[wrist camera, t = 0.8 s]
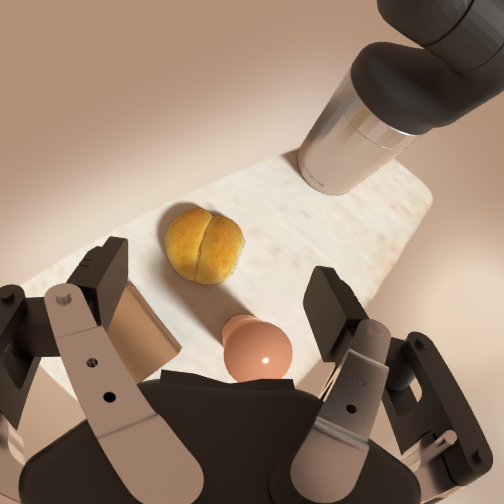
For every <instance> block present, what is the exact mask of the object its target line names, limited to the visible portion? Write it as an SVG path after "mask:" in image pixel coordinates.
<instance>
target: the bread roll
mask: <svg viewBox="0 0 504 504" xmlns="http://www.w3.org/2000/svg"><path fill="white" fill-rule="evenodd" d="M244 243H245V239H244V237H243V234H242V231H241V229H240V227H239V226H238V225H237V224H236V223H235V222H234V221H233V220H231V219H229V218H227V217H223V216H218V217H214V216H212V215H211V214H210V213H209V212H208V211H207V210H205V209H201V208H194V209H190V210H188V211H185V212H183V213H182V214H180V215H179V216H178V217H177V218H176V219H175V220H174V221H173V222H172V223H171V225H170V226H169V228H168V230H167V233H166V236H165V249H166V254H167V257H168V259H169V261H170V263H171V265H172V266H173V268H174V269H175V270H176V271H177V272H178V273H179V274H180V275H181V276H182V277H184V278H186V279H187V280H190V281H194V282H198V283H202V284H218V283H222V282H224V281H225V280H227V279H228V278H229V277H230V276H231V275H232V274H233V273H234V271H235V269H236V266H237V264H238V261H239V258H240V256H241V253H242V249H243V247H244Z"/></svg>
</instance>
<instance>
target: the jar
mask: <svg viewBox="0 0 504 504" xmlns="http://www.w3.org/2000/svg"><path fill="white" fill-rule="evenodd" d="M222 342H223V347H224V362H225V366H226V368H227V370H228V372H229V374H230V375H231V376H232V377H233V378H234V379H235V380H236V381H237V382H245V381H251V380H257V379H281V378H282V377H283V376H284V375H285V374H286V372H287V371H288V369H289V367H290V364H291V361H292V346H291V343H290V340H289V338H288V337H287V335H286V334H285V333H284V332H283V331H282V330H281V329H280V328H279V327H277V326H275V325H273V324H271V323H268V322H263V321H261V320H259V319H257V318H255V317H253V316H251V315H246V314H242V315H237V316H234V317H232V318H231V319H230V320H228V321H227V323H226V324H225V326H224V328H223V330H222Z"/></svg>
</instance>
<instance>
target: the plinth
mask: <svg viewBox="0 0 504 504" xmlns="http://www.w3.org/2000/svg"><path fill="white" fill-rule="evenodd" d="M107 335H108V337H109V339H110V341H111V343H112V345H113V347H114V348H115V350H116V352H117V354H118V355H119V357H120V359H121V361H122V362H123V364H124V366H125V367H126V369H127V371H128V372H129V374H130V376H131V377H132V379H133V380H134V382H135V384H138V383H140V382H142V381H143V380H145V379H146V378H147V377H149V376H150V375H151V374H153V373H154V372H155V371H157V370H158V369H159V368H161V367H162V366H163V365H165V364H166V363H167V362H169V361H170V360H171V359H172V358H174V357H175V356H176V355H178V354H179V352H180V350H181V348H182V346H181V345H180V344H179V343H178V342H177V340H176V339H175V338H174V337H173V335H172V334H171V333H170V332H169V330H168V329H167V328H166V327H165V325H164V324H163V323H162V322H161V320H160V319H159V318H158V316H157V315H156V314H155V313H154V311H153V310H152V309H151V307H150V306H149V305H148V303H147V302H146V301H145V299H144V298H143V296H142V295H141V294H140V292H139V291H138V290H137V288H136V287H135V286H128V285H126V287H125V289H124V291H123V294H122V296H121V298H120V301H119V303H118V306H117V308H116V311H115V313H114V316H113V318H112V321H111V323H110V326H109V328H108V331H107Z"/></svg>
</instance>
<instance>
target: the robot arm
mask: <svg viewBox="0 0 504 504" xmlns="http://www.w3.org/2000/svg"><path fill="white" fill-rule="evenodd" d="M377 5H378V10H379V12H380V14H381V16H382V17H383V19H384V20H385V21H386V22H387V23H388V24H389V25H391V26H392V27H393V28H395V29H396V30H397V31H399V32H400V33H401V34H403V35H404V36H406V37H407V38H409V39H410V40H412V41H414V42H415V43H417V44H419V45H420V46H421V47H423V48H424V49H420V48H412V47H408V46H403V45H399V44H394V43H389V42H376V43H372V44H369V45H367V46H366V47H365V48H363V49H362V51H361V52H360V53H359V55H358V56H357V58H356V59H355V61H354V62H353V64H352V66H351V67H350V69H349V70H348V72H347V73H346V75H345V76H344V78H343V80H342V81H341V83H340V85H339V86H338V88H337V89H336V91H335V92H334V94H333V96H332V97H331V99H330V100H329V102H328V103H327V105H326V107H325V108H324V110H323V111H322V113H321V115H320V116H319V118H318V119H317V121H316V123H315V124H314V126H313V127H312V129H311V130H310V132H309V134H308V135H307V137H306V138H305V140H304V142H303V143H302V145H301V147H300V149H299V151H298V155H297V162H298V167H299V170H300V172H301V174H302V176H303V177H304V179H305V180H306V182H307V183H308V184H309V185H310V186H312V187H313V188H314V189H316V190H317V191H319V192H322V193H324V194H328V195H342V194H345V193H347V192H349V191H350V190H351V189H353V188H354V187H355V186H357V185H358V184H359V183H361V182H362V181H364V180H365V179H366V178H368V177H369V176H370V175H372V174H373V173H374V172H376V171H377V170H378V169H380V168H381V167H382V166H384V165H385V164H386V163H388V162H389V161H390V160H391V159H393V158H394V157H395V156H397V155H398V154H399V153H401V152H402V151H403V150H405V149H406V148H407V147H408V146H410V145H411V144H412V143H413V142H415V141H416V140H418V139H419V138H420V137H421V136H423V135H424V134H425V133H427V132H428V131H429V130H431V129H432V128H436V127H443V126H446V125H449V124H451V123H453V122H455V121H456V120H457V119H459V118H461V117H462V116H464V115H465V114H467V113H469V112H470V111H472V110H474V109H475V108H477V107H478V106H480V105H482V104H483V103H485V102H487V101H488V100H490V99H491V98H493V97H495V96H496V95H498V94H500V93H501V92H503V91H504V0H377ZM127 279H128V240H127V239H126V238H119V237H112V236H110V237H109V238H108V240H107V241H106V242H105V244H104V245H103V247H100V246H96V247H95V248H93V249H91V250H90V251H88V252H87V254H86V255H85V256H84V258H83V260H82V261H81V262H80V263H79V266H77V267H76V269H75V270H74V272H73V273H72V275H71V276H70V277H69V279H68V280H67V282H66V283H63V284H58V285H55V286H53V287H51V288H50V289H49V290H48V291H47V292H46V294H45V296H44V297H33V298H26V297H25V293H24V290H23V289H22V288H21V287H20V286H18V285H6V286H3V287H1V288H0V494H1V495H3V496H5V497H7V498H9V499H12V500H14V501H16V502H18V503H20V504H435V503H437V502H439V501H440V500H443V499H444V498H446V497H448V496H450V495H451V494H453V493H455V492H456V491H459V490H460V489H462V488H464V487H465V486H467V485H468V484H470V483H472V482H473V481H475V480H477V479H478V478H480V477H481V476H482V475H484V474H485V473H487V472H488V471H489V470H490V469H491V467H492V464H493V455H492V451H491V449H490V447H489V445H488V443H487V440H486V438H485V436H484V434H483V432H482V430H481V428H480V425H479V424H478V421H477V419H476V417H475V416H474V414H473V412H472V410H471V408H470V406H469V404H468V402H467V400H466V398H465V397H464V394H463V393H462V391H461V389H460V387H459V385H458V384H457V382H456V380H455V379H454V377H453V375H452V373H451V372H450V370H449V368H448V366H447V365H446V363H445V362H444V360H443V358H442V356H441V355H440V353H439V352H438V350H437V348H436V347H435V345H434V343H433V342H432V341H431V340H430V339H429V338H428V337H427V336H426V335H424V334H422V333H420V332H411V333H409V334H408V336H407V338H406V339H405V340H401V339H397V338H393V337H391V334H390V332H389V330H388V329H387V327H386V326H384V325H383V324H382V323H380V322H378V321H376V320H372V319H369V317H368V316H367V314H366V312H365V311H364V309H363V307H362V306H361V304H360V302H358V299H357V297H356V296H354V295H355V294H354V292H353V291H352V289H351V288H350V286H349V285H347V284H346V283H345V282H344V281H343V280H340V278H339V276H338V275H337V273H336V271H335V270H334V268H331V267H323V266H316V267H315V268H314V270H313V273H312V275H311V278H310V281H309V284H308V286H307V289H306V292H305V294H304V299H303V306H304V310H305V313H306V315H307V318H308V321H309V323H310V326H311V329H312V332H313V334H314V337H315V340H316V343H317V345H318V348H319V351H320V354H321V356H322V359H323V362H335V367H334V368H333V370H332V372H331V374H330V376H329V378H328V380H327V382H326V383H325V385H324V387H323V389H322V391H321V393H320V395H319V396H318V397H316V396H314V395H312V394H310V393H307V392H305V391H302V390H298V389H295V387H294V383H293V379H257V380H251V381H245V382H239V383H231V384H230V383H224V382H221V381H217V380H214V379H211V378H207V377H204V376H201V375H197V374H194V373H185V372H177V371H169V370H161V377H160V379H153V380H148V381H144V382H140V383H138V384H135V382H134V380H133V379H132V377H131V376H130V374H129V372H128V371H127V369H126V367H125V366H124V364H123V362H122V361H121V359H120V357H119V355H118V354H117V352H116V350H115V348H114V347H113V345H112V343H111V341H110V339H109V337H108V335H107V331H108V328H109V326H110V323H111V321H112V318H113V316H114V313H115V311H116V308H117V306H118V303H119V301H120V298H121V296H122V294H123V291H124V289H125V287H126V284H127ZM7 346H8V347H7ZM6 348H7V349H6ZM5 350H6V351H5ZM60 356H61V358H62V361H63V364H64V366H65V369H66V372H67V374H68V377H69V379H70V382H71V384H72V387H73V389H74V392H75V394H76V396H77V399H78V401H79V403H80V405H81V407H82V410H83V412H84V414H85V416H86V419H85V420H83V421H82V422H80V423H79V424H78V425H77V426H75V427H74V428H72V429H71V430H69V431H68V432H67V433H65V434H64V435H62V436H61V437H59V438H58V439H57V440H55V441H54V442H52V443H51V444H49V445H48V446H47V447H45V448H44V449H42V450H41V451H39V452H38V453H36V454H35V455H34V456H32V457H31V458H30V459H29V460H28V461H27V462H26V463H25V461H24V444H23V440H22V438H21V436H20V435H19V433H18V432H17V429H18V425H19V421H20V418H21V415H22V411H23V408H24V405H25V402H26V399H27V396H28V393H29V390H30V387H31V384H32V381H33V379H34V376H35V373H36V371H37V368H38V365H39V363H40V360H41V358H42V357H60ZM415 377H416V378H417V380H418V382H419V384H420V387H421V389H422V396H421V399H420V400H419V402H418V403H417V401H416V398H415V396H414V394H413V392H412V390H411V387H410V385H409V384H410V383H411V382H412V381H413V380H414V378H415ZM381 399H382V402H383V404H384V407H385V410H386V412H387V415H388V418H389V421H390V423H391V426H392V429H393V432H394V435H395V437H396V440H397V443H398V446H399V449H400V452H401V455H402V457H401V461H399V460H398V459H397V458H395V457H394V456H392V455H391V454H390V453H388V452H387V451H386V450H384V449H383V448H382V447H380V446H379V445H378V444H376V443H375V442H374V441H372V440H371V439H369V436H370V433H371V430H372V427H373V424H374V421H375V417H376V415H377V411H378V408H379V405H380V401H381Z"/></svg>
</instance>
